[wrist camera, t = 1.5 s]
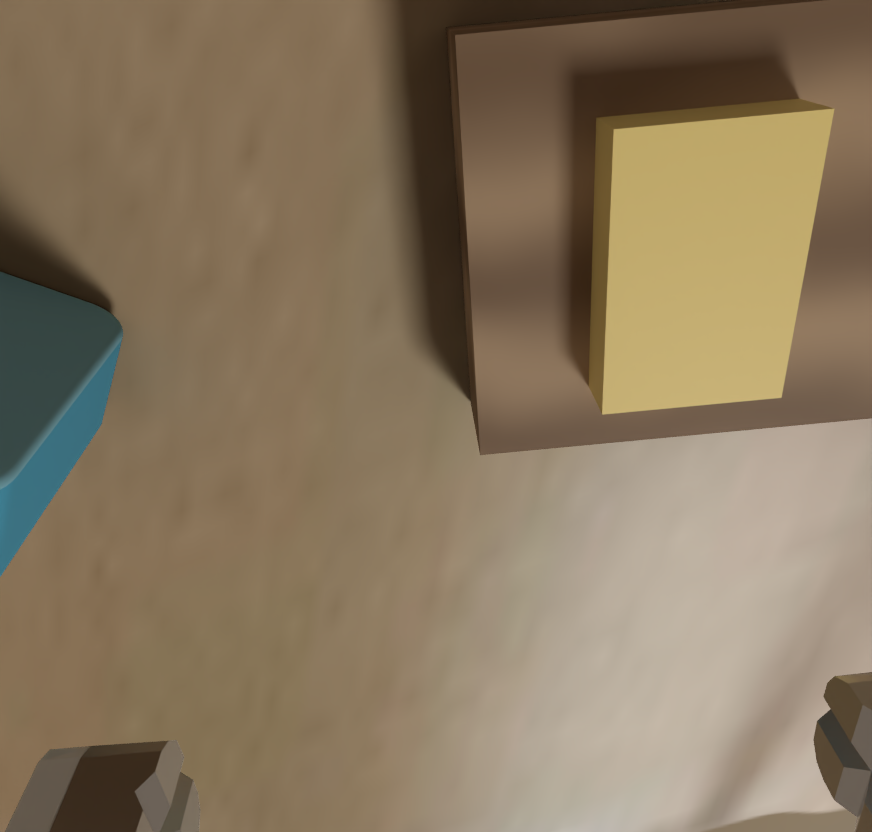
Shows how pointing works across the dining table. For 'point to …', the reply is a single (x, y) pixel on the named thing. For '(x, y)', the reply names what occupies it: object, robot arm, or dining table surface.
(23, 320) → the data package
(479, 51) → the board
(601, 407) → the yellow block
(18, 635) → the dining table surface
